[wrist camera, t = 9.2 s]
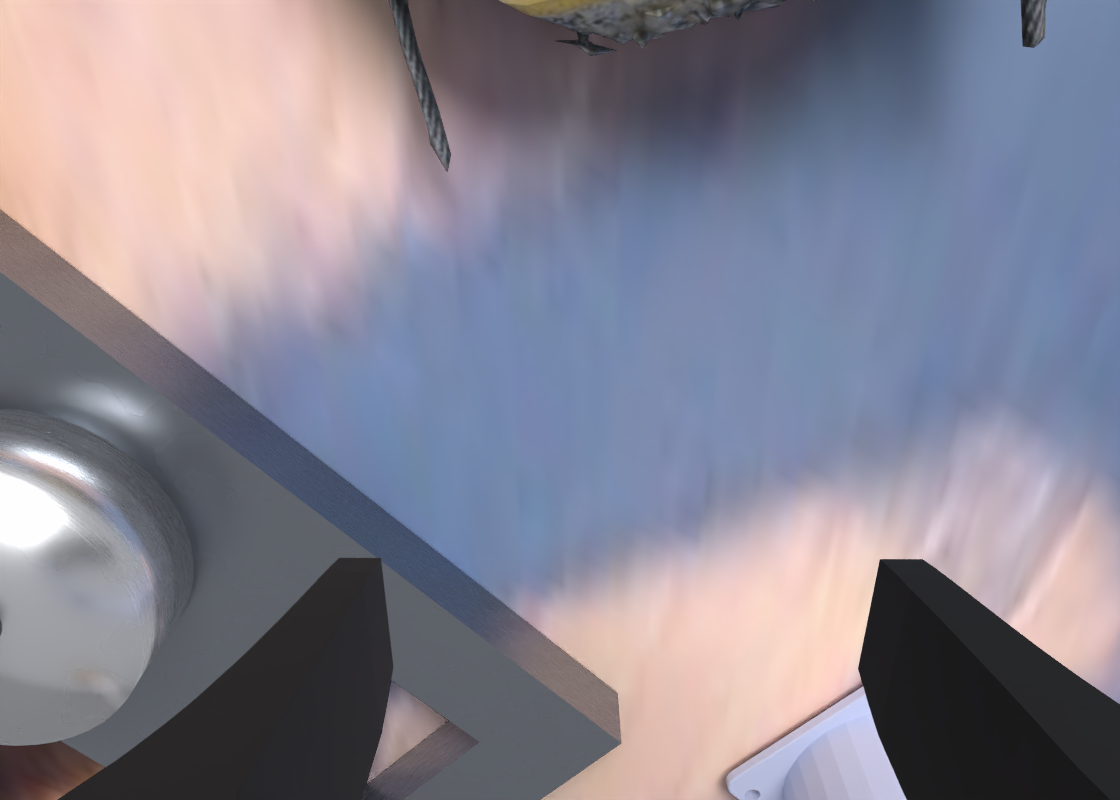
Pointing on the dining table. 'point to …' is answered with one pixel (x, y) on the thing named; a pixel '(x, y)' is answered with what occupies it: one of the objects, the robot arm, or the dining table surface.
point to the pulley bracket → (224, 559)
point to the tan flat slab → (617, 33)
